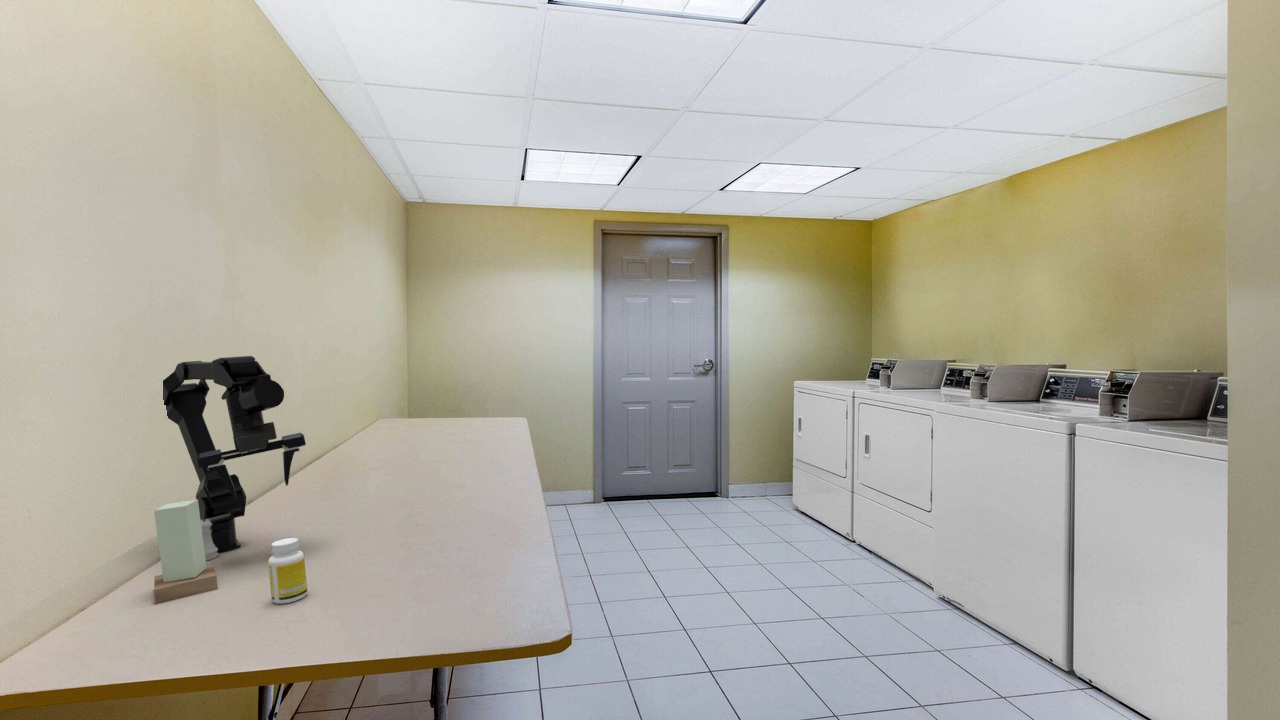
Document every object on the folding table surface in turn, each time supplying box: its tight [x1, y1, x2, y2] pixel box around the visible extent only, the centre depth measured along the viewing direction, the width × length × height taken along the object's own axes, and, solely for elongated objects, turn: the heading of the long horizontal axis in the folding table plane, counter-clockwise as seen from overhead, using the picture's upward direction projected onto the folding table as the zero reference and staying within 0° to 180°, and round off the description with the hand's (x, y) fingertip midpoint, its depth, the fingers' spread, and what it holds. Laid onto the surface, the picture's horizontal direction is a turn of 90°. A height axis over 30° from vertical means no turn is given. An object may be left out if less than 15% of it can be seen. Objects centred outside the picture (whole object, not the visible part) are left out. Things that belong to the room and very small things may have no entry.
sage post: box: [154, 499, 207, 582], centre depth 117 cm, size 5×5×13 cm
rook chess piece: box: [201, 519, 220, 562], centre depth 135 cm, size 4×4×8 cm
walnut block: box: [153, 562, 219, 605], centre depth 118 cm, size 9×9×3 cm
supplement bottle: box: [267, 537, 308, 605], centre depth 110 cm, size 5×5×10 cm
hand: (261, 491), depth 131 cm, fingers open, 9 cm apart
